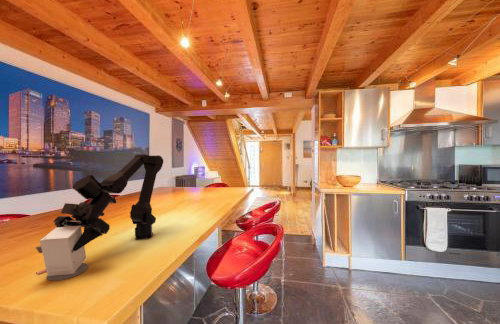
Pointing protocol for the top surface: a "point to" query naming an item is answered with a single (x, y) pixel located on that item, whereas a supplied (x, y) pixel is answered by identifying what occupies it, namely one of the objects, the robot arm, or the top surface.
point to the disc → (80, 270)
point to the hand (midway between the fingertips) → (62, 249)
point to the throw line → (41, 271)
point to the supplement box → (62, 251)
